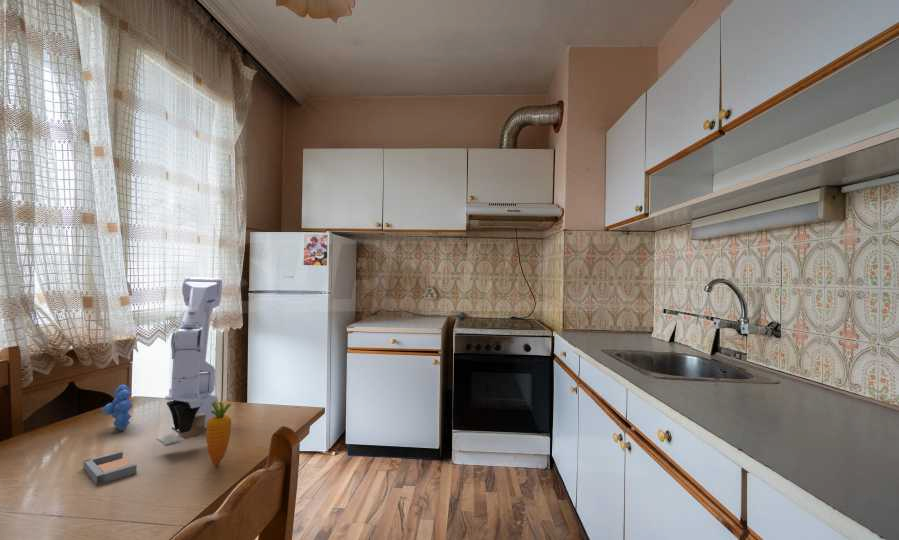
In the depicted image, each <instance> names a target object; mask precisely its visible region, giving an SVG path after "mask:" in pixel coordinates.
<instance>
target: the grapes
mask: <svg viewBox="0 0 899 540" xmlns="http://www.w3.org/2000/svg"><path fill="white" fill-rule="evenodd" d="M130 391H131V388H130V387H129V386H128V385H125V384H120V385H119V386H118V387H117V388H116V389H115V390H114V393H113V395H114V396H115V397H114V398H113V400H112V402H108V403H107V404H106V405H105V406H104V407H103V408H102V409H101V411H102V412H103V413H104V414H106V415H107V416H112V418H113V419H114V422H113V423H112V425H114V427H115V428H117V430H120V431H122V430H123V431H124V430H125V429H127V427H128V426H129V425H130V423H131V422H130V421H129V420H130V419H131V417H132V415H131V414H130V413H128V412H129V411H130V410H131V409H132V407H133V406H134V405H133V403H131V402H130V400H129V398H130V397H131V396H132V393H131V392H130Z"/></svg>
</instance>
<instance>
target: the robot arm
mask: <svg viewBox="0 0 899 540" xmlns="http://www.w3.org/2000/svg"><path fill="white" fill-rule="evenodd" d="M181 289H182V291H181V293H182V295H183V302H184V304H185V306H187V309H185V310H183V311H182V313H181V315H180V319H179V322H178V327H177V330H176V331H175V330H174V331H173V332H172V335H171V339H170V347H171V359H172V372H171V374H172V375H171V386H170V387H171V388H169V390H168V392H169V393H168V395H165V396H164V399H165V401H167V402H166V405H167V407H168V409H169V411H170V413H171V417H172V422H173V425H171V428H173V429H174V430H175V431H177V432H178V433H179V432H180V433H184V432H188V431H190V429H191V427H192V423H193V420H194V418H195V415H196V414H197V413H203V414H205V415H206V416H205V429H207V421H208V420H209V419H210V418H212V417H214V416H215V415H214V414H213V413H212V412H210V411H211V410H214V411H215V409H214V407H213V406H212V404H211V403H212V402H213V401H216V402H217V404H218V405H219V398H218V396H217V394H216V393H215V392H214V391H215V386H216V385H215V384H216V368H215V366H213V365H212V364H211V363H210V362H207V351H208V343H209V333H210V324H211V314H212V312H213V309H215V308H217V307H219V306H220V303H221V301H222V293H223V279H222V278H221V277H218V278H214V277H193V276H192V277H189V276H186V277H185V278H183V282H182V288H181ZM215 412H216V411H215Z"/></svg>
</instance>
